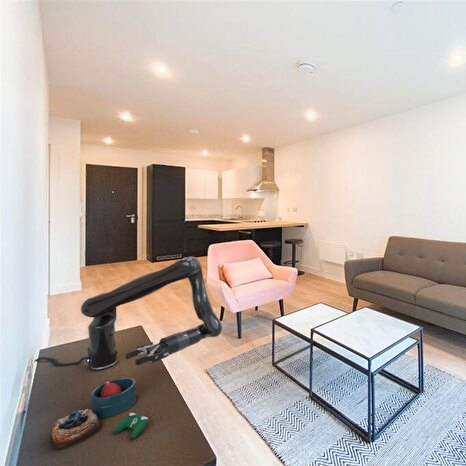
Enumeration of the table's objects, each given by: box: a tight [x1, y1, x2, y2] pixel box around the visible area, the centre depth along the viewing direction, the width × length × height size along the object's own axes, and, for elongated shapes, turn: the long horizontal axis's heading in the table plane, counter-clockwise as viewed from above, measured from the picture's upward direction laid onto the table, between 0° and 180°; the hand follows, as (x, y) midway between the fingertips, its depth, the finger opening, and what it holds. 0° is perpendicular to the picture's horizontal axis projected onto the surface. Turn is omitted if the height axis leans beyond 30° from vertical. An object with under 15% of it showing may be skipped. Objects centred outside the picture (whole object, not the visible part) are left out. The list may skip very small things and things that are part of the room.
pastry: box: [50, 408, 100, 450], centre depth 93 cm, size 11×12×6 cm
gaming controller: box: [114, 412, 149, 440], centre depth 95 cm, size 9×4×6 cm
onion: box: [101, 380, 121, 397], centre depth 107 cm, size 6×6×8 cm
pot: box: [91, 377, 137, 419], centre depth 106 cm, size 12×12×7 cm
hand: (130, 359), depth 110 cm, fingers open, 8 cm apart
